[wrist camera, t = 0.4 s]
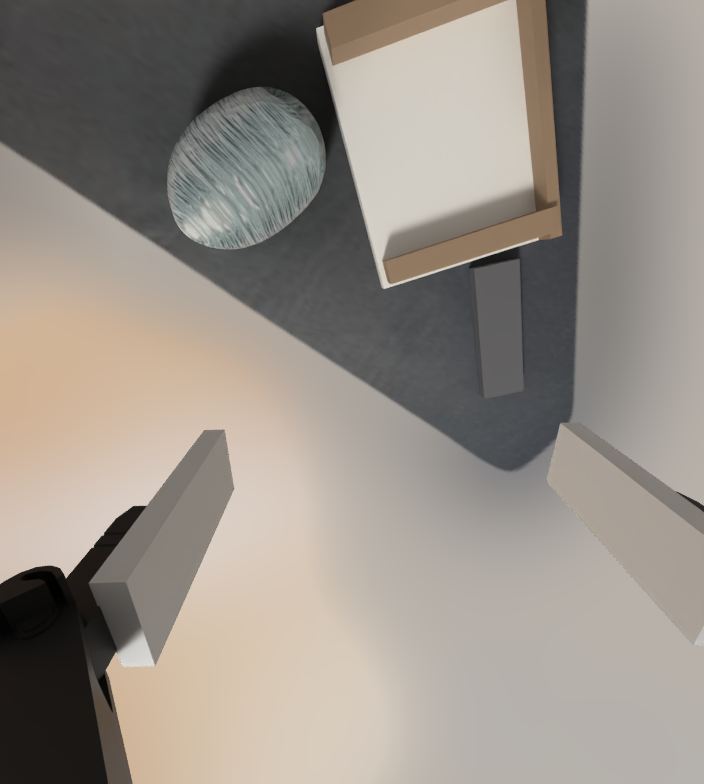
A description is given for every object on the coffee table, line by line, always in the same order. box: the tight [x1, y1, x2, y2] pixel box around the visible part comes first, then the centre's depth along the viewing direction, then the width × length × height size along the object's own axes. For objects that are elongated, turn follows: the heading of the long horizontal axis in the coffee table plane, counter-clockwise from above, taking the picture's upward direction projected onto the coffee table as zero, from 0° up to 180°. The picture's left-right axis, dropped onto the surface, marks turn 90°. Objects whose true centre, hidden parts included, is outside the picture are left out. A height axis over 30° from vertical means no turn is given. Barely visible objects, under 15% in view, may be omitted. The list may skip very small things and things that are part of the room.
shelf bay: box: [316, 0, 562, 289], centre depth 29 cm, size 20×16×4 cm
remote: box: [469, 259, 524, 399], centre depth 37 cm, size 4×14×2 cm, turn 12°
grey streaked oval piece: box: [167, 86, 326, 249], centre depth 28 cm, size 14×10×10 cm
